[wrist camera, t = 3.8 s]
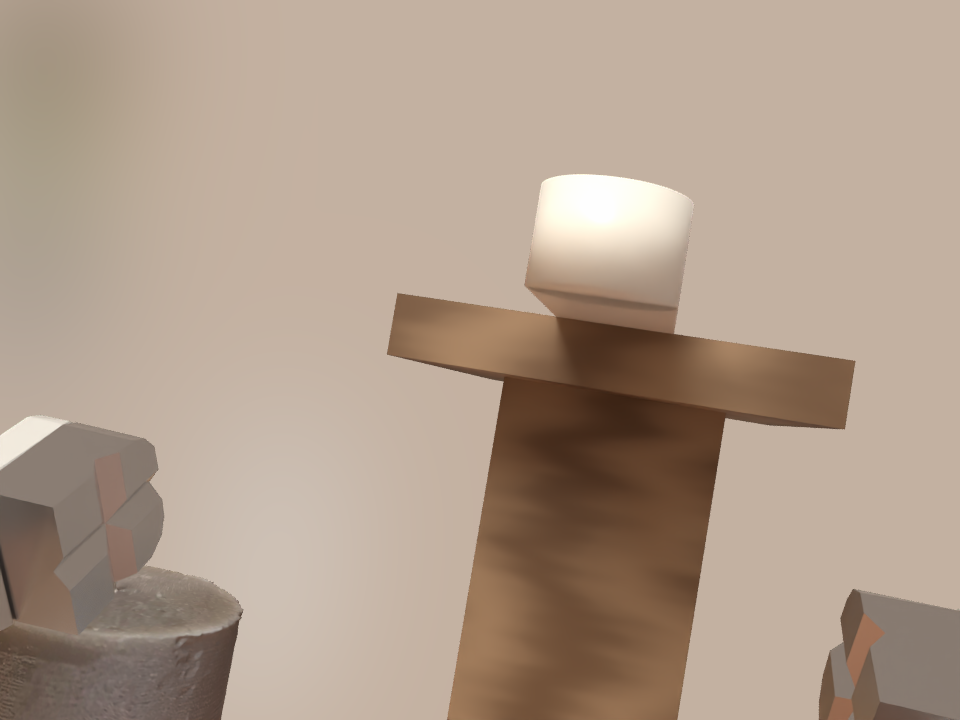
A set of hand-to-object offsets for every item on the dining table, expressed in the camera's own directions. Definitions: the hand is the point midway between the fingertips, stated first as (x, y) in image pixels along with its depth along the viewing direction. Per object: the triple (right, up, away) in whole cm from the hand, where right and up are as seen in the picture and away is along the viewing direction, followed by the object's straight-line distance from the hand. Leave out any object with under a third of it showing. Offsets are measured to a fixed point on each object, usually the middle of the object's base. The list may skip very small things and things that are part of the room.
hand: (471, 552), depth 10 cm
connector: (+5, +3, +22) cm, 22 cm away
